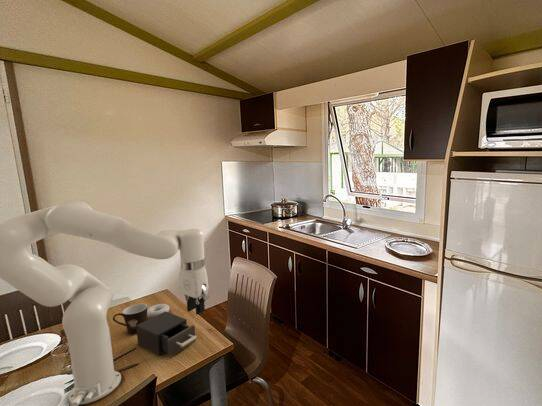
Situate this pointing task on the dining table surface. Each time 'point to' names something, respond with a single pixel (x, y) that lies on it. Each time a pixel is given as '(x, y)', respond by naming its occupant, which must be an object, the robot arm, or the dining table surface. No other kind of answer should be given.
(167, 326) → the gray drawer box
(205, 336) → the dining table surface
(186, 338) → the drawer
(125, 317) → the coffee mug
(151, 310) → the donut
